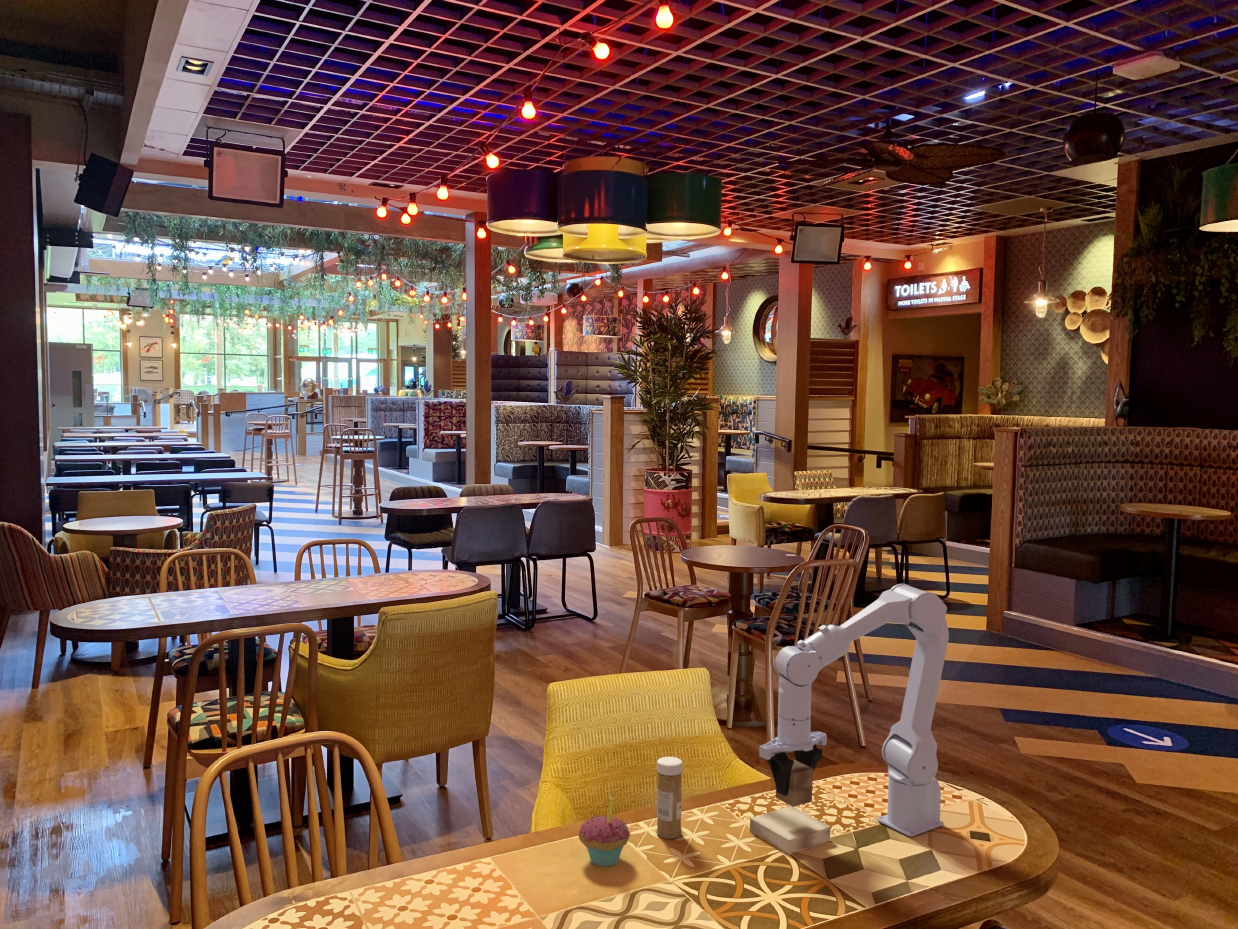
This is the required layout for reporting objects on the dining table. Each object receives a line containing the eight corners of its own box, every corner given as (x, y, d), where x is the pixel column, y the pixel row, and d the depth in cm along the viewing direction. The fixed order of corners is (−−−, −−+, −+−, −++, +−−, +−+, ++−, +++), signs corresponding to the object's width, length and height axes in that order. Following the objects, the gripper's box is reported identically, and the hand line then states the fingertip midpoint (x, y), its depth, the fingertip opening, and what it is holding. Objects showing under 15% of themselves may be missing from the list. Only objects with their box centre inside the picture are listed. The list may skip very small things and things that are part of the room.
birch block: (790, 821, 169) (791, 806, 169) (829, 843, 161) (830, 826, 161) (749, 834, 164) (750, 818, 164) (788, 857, 155) (788, 840, 155)
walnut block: (793, 792, 164) (794, 760, 164) (811, 801, 161) (812, 768, 160) (775, 797, 162) (776, 764, 162) (793, 807, 158) (794, 773, 158)
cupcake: (639, 859, 153) (640, 790, 152) (604, 878, 147) (605, 805, 146) (603, 843, 159) (603, 776, 158) (567, 860, 152) (568, 790, 152)
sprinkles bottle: (686, 836, 162) (687, 762, 161) (666, 842, 159) (667, 767, 159) (671, 826, 166) (672, 754, 165) (650, 832, 163) (652, 758, 162)
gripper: (779, 729, 154) (777, 807, 154) (840, 715, 161) (838, 789, 162) (751, 717, 159) (750, 793, 160) (811, 704, 167) (809, 776, 168)
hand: (792, 790), depth 162 cm, fingers closed on walnut block, 4 cm apart
